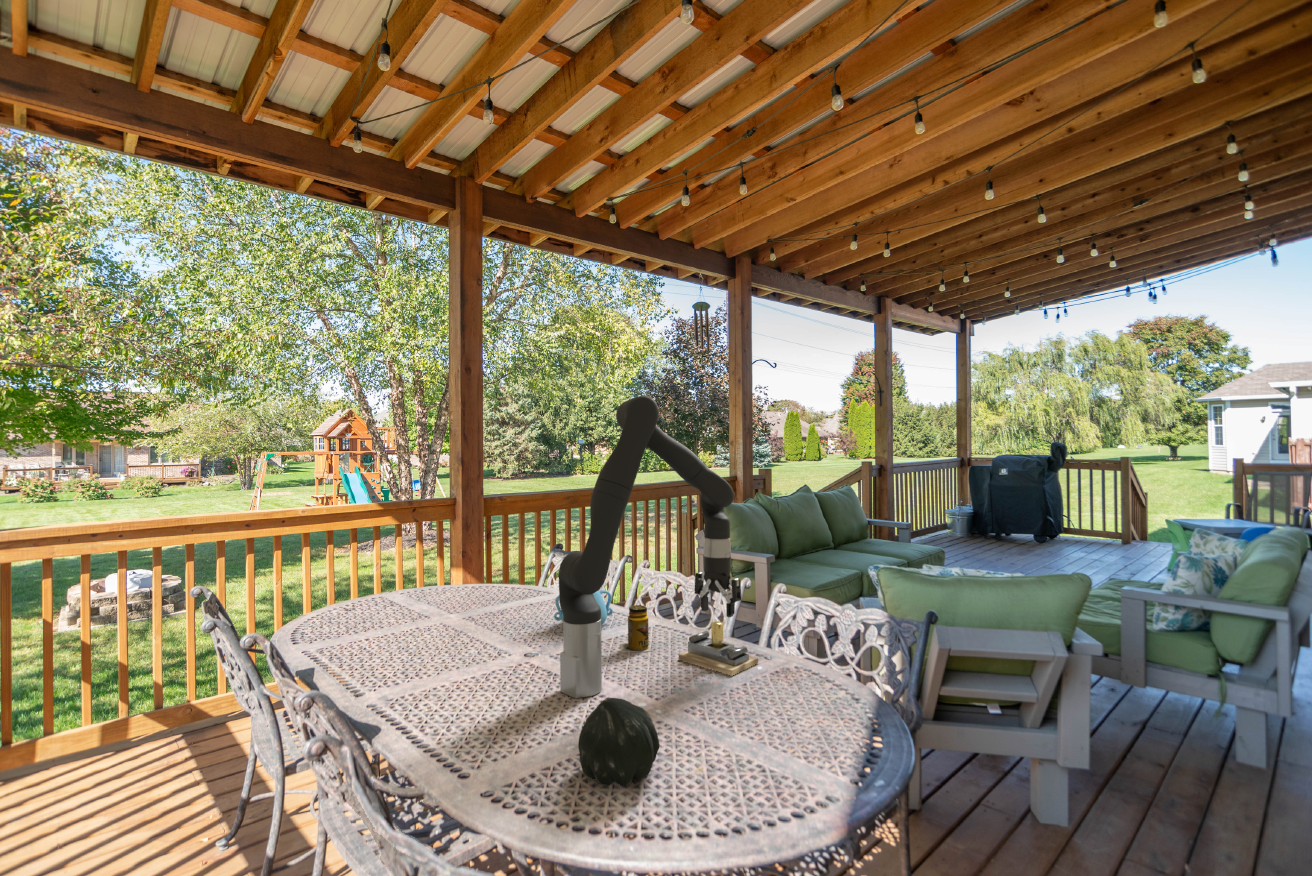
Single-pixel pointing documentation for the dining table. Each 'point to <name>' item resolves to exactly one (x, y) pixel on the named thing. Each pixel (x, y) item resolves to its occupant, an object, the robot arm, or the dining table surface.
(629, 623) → the condiment
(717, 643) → the brass pin
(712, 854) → the dining table surface
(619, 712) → the squash
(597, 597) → the decorative pot
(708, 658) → the clamp block fixture
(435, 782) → the dining table surface
